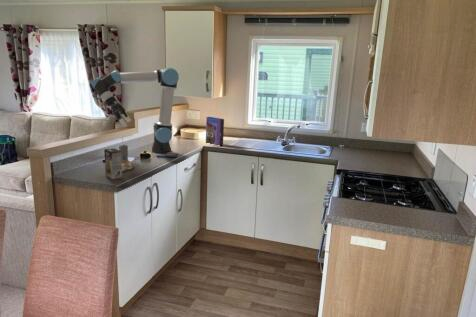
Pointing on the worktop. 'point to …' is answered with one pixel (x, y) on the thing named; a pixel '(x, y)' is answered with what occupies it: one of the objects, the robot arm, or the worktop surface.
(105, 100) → the robot arm
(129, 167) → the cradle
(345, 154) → the worktop surface
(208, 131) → the cereal box
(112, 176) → the coffee box
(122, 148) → the battery cell
